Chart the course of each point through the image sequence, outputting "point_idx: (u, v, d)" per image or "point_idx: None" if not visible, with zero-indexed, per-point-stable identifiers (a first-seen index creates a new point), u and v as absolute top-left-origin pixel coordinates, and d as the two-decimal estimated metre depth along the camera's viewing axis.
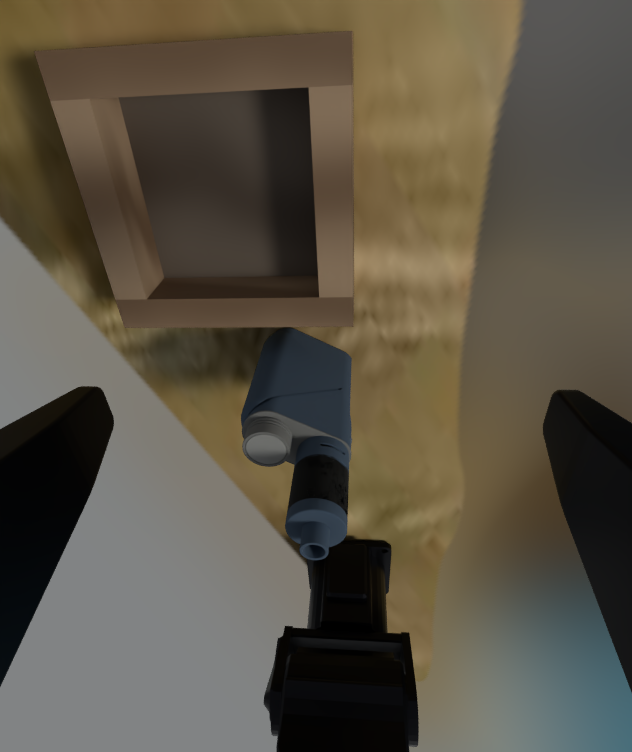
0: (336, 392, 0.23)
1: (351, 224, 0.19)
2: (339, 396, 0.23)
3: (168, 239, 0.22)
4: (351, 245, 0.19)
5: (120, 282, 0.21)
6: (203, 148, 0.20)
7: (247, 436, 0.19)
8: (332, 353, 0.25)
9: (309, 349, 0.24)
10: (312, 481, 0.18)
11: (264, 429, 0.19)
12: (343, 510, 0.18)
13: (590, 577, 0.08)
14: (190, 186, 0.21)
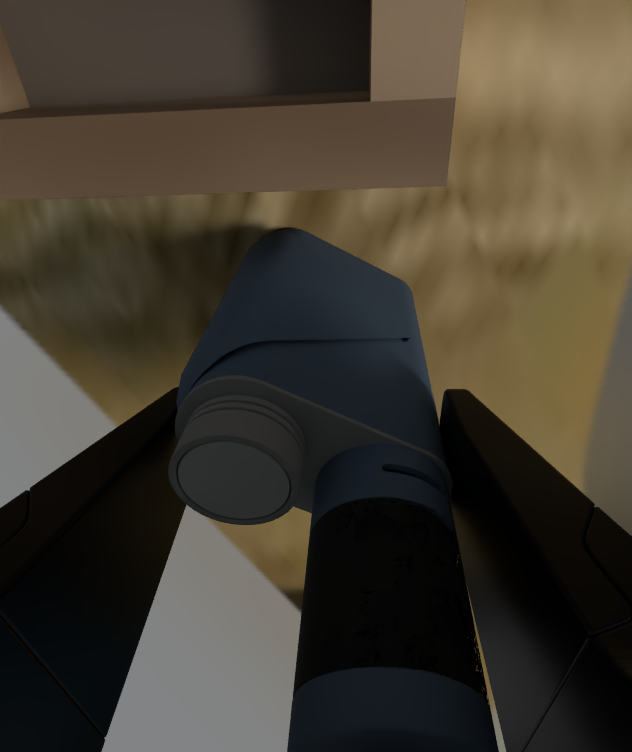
0: (399, 346, 0.10)
1: None
2: (406, 354, 0.10)
3: (23, 0, 0.10)
4: None
5: None
6: None
7: (179, 446, 0.07)
8: (378, 278, 0.13)
9: (335, 265, 0.12)
10: (374, 593, 0.06)
11: (227, 427, 0.07)
12: (485, 702, 0.05)
13: (465, 572, 0.08)
14: None
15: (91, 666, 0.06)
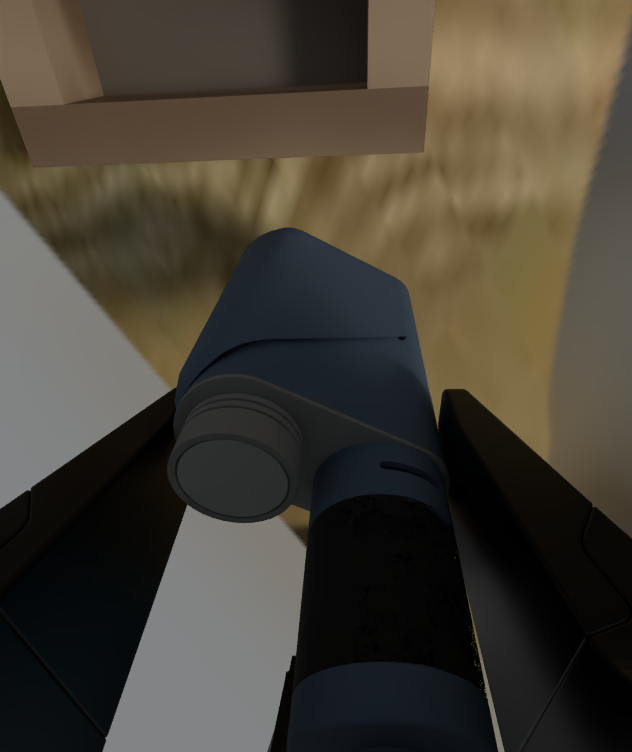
0: (396, 344, 0.10)
1: None
2: (403, 353, 0.10)
3: (105, 13, 0.13)
4: None
5: (15, 67, 0.12)
6: None
7: (178, 445, 0.07)
8: (375, 278, 0.13)
9: (332, 264, 0.12)
10: (372, 588, 0.06)
11: (225, 425, 0.07)
12: (483, 696, 0.05)
13: (463, 572, 0.08)
14: None
15: (92, 666, 0.06)
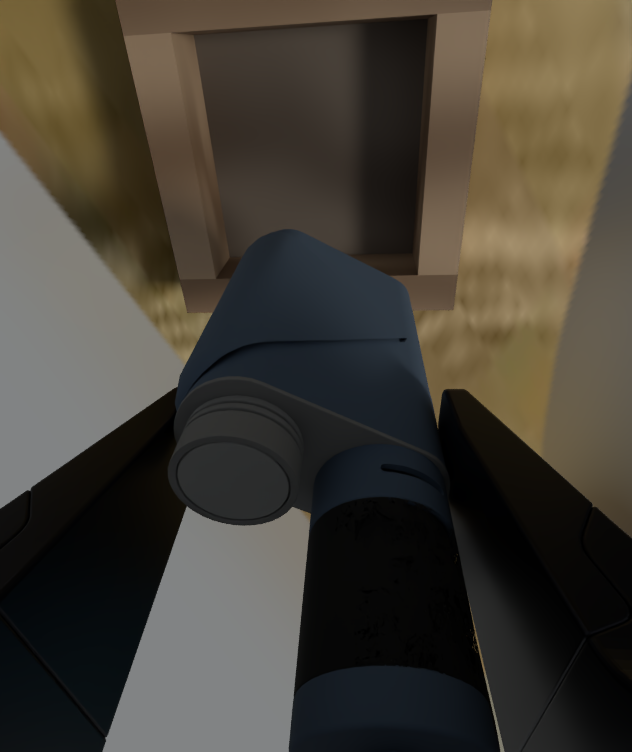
0: (397, 346, 0.10)
1: (467, 186, 0.16)
2: (404, 354, 0.10)
3: (238, 212, 0.20)
4: (464, 212, 0.17)
5: (188, 258, 0.18)
6: (288, 102, 0.17)
7: (179, 447, 0.07)
8: (376, 279, 0.13)
9: (332, 266, 0.12)
10: (374, 592, 0.06)
11: (226, 427, 0.07)
12: (485, 699, 0.05)
13: (463, 572, 0.08)
14: (269, 149, 0.18)
15: (92, 666, 0.06)
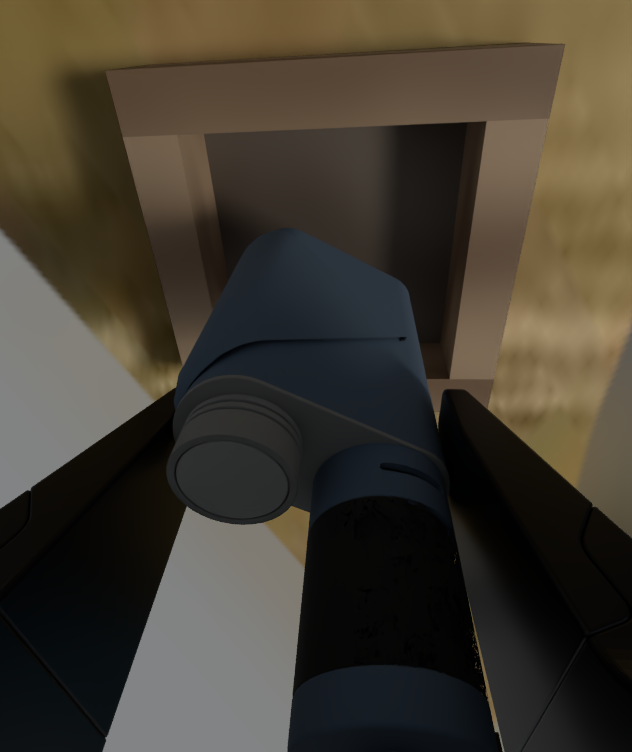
0: (396, 345, 0.10)
1: (510, 295, 0.14)
2: (403, 353, 0.10)
3: None
4: (504, 319, 0.15)
5: None
6: (308, 191, 0.15)
7: (177, 446, 0.07)
8: (375, 278, 0.13)
9: (332, 264, 0.12)
10: (373, 591, 0.06)
11: (225, 426, 0.07)
12: (484, 699, 0.05)
13: (463, 572, 0.08)
14: None
15: (92, 666, 0.06)
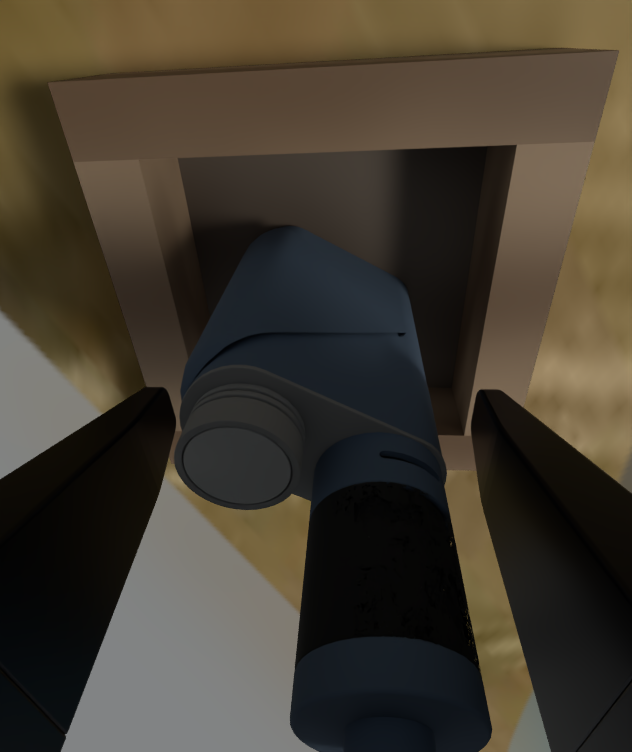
0: (396, 340, 0.11)
1: (538, 345, 0.12)
2: (403, 348, 0.10)
3: None
4: (530, 372, 0.13)
5: None
6: (300, 220, 0.13)
7: (185, 432, 0.07)
8: (375, 276, 0.13)
9: (333, 262, 0.12)
10: (372, 569, 0.06)
11: (231, 413, 0.07)
12: (477, 670, 0.05)
13: (502, 573, 0.08)
14: None
15: (49, 664, 0.07)
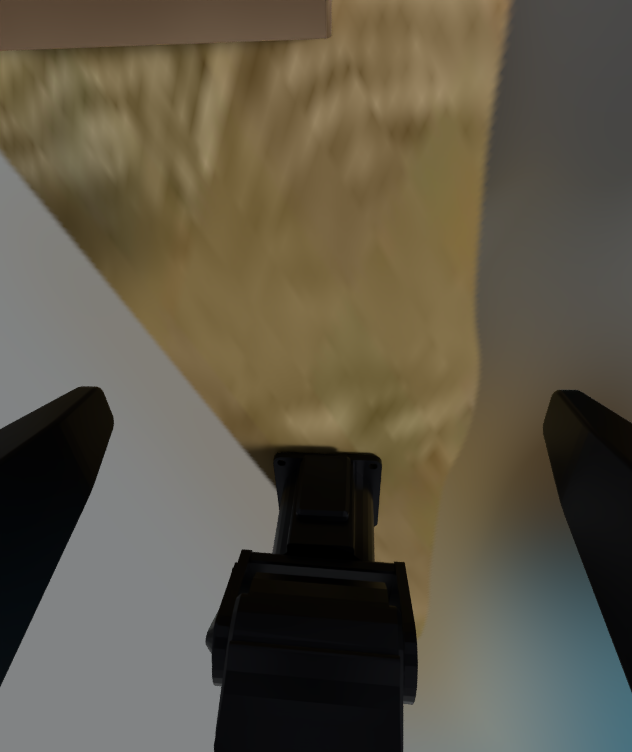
0: None
1: None
2: None
3: None
4: None
5: None
6: None
7: None
8: None
9: None
10: None
11: None
12: None
13: (590, 577, 0.08)
14: None
15: None
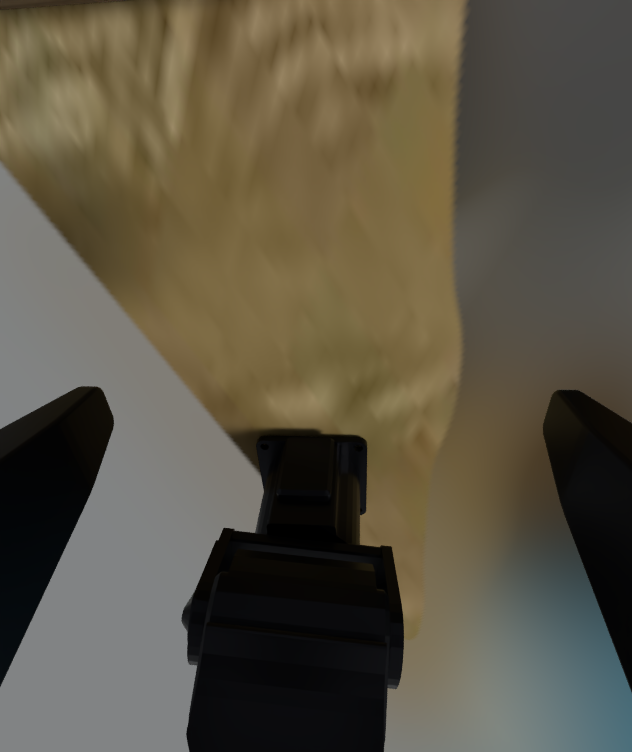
0: None
1: None
2: None
3: None
4: None
5: None
6: None
7: None
8: None
9: None
10: None
11: None
12: None
13: (590, 577, 0.08)
14: None
15: None
